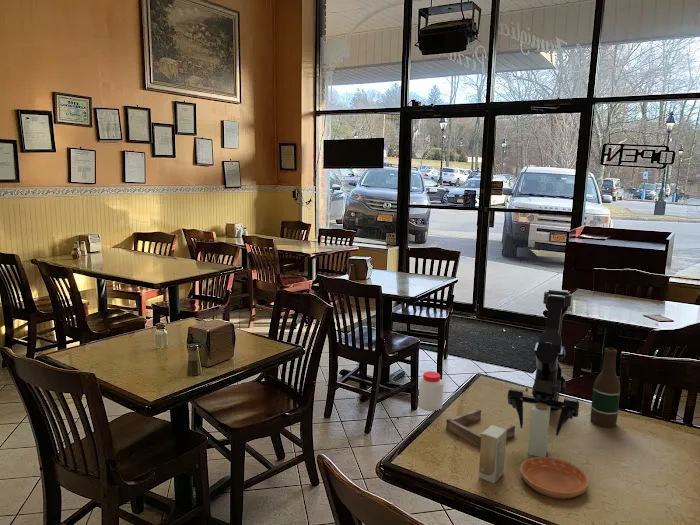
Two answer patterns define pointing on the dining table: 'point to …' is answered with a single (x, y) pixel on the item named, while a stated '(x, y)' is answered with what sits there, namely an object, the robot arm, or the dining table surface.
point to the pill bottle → (430, 391)
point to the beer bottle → (606, 393)
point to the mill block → (539, 429)
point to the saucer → (554, 477)
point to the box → (468, 434)
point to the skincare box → (492, 453)
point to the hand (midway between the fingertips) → (538, 431)
